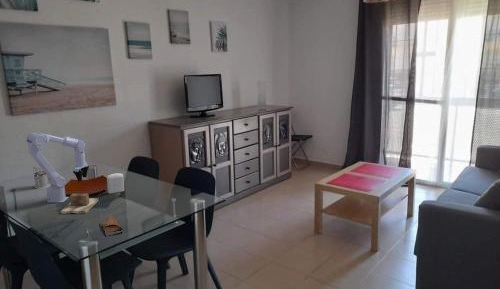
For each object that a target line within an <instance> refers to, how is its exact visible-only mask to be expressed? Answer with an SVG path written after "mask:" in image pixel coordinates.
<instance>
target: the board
mask: <svg viewBox="0 0 500 289" xmlns="http://www.w3.org/2000/svg"><path fill="white" fill-rule="evenodd" d="M98 202H99V197H98V198H97V197H95V198H93V197H92V198H91V197H90V198H89V204H88V205H87V206H71V202H69V203H68V204H66V206H65V207H63V208H62V209H61V210H59V211H60V214H65V215H66V214H67V213H68V214H69V215H71V214H70V213H76V214H87V213H88V212H89V211H90V210H91V209H92V208H93V207H94V206H95V205H96V204H97V203H98Z"/></svg>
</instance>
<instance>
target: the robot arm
mask: <svg viewBox="0 0 500 289" xmlns="http://www.w3.org/2000/svg"><path fill="white" fill-rule="evenodd" d="M25 141H26V144H27V152H28V154H29V155H30V157H32V159H33V160H34V162H35V163H36V165H39V166H40V167H41V169H40V170H41V171H44V172H45V174H46V175H47V179H48V184H50V186H49V187H47V188H46V197H47V203H50V204H51V203H54V204H55V203H65V201H66V200H68V199H70V196H66V190H65V189H66V188H65V185H66V178H65V177H63V176H61V175H60V173H58V172H57V171H56V170H55V168H54V167H53V166H52V165H51V164H50V162H49V161H48V160H47V159H46V157H45V156H44V154H42V152H41V149H42V147H43V146H44V145H45V143H49V142H53V143H58V144H61V146H63V147H67V148H73V150H74V151H73V152H74V160H75V167H74V170H72V172H73V174H74V175H75V178H76V179H77V182H82V181H83V178H87V176H88V171H89V168H90V165H89V164H88V162H87V161H86V156H85V155H86V154H85V148H86V147H87V146H86V145H87V144H86V142H85V141H84V140H82V139H78V138H72V137H71V136H70V135H67V136H63V137H59V136H54V135H51V134H47V133H41V132H38V133H36V132H30V133H29V134H28V135H27V137H26V140H25Z"/></svg>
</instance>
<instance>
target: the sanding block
mask: <svg viewBox="0 0 500 289" xmlns="http://www.w3.org/2000/svg"><path fill="white" fill-rule="evenodd" d="M89 196H90V195H89V193H87V192H86V193H85V192H84V193H83V192H82V193H72V194H70V195H69V200H70V202H71V206H87V205H88V204H89ZM70 202H69V203H70Z"/></svg>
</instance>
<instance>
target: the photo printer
mask: <svg viewBox="0 0 500 289" xmlns="http://www.w3.org/2000/svg"><path fill="white" fill-rule="evenodd" d="M106 183H107V184H106V186H107V194H115V193H116V194H117V193H120V192H121V193H123V192H125V181H124V174H123V173H120V172H119V173H117V172H115V173H112V174H109V175H107V176H106Z"/></svg>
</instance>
